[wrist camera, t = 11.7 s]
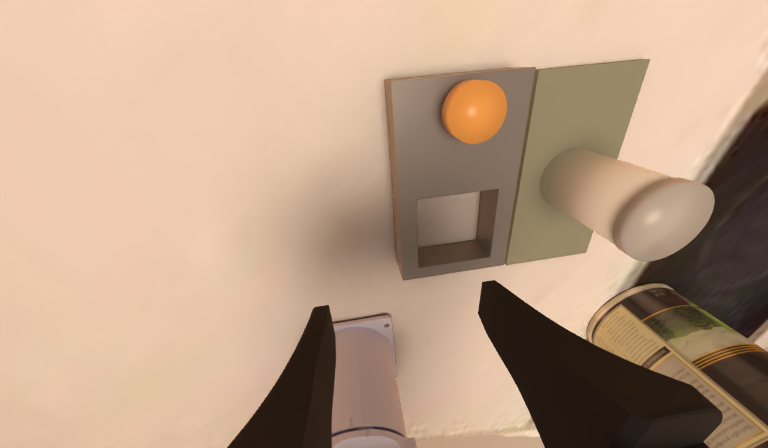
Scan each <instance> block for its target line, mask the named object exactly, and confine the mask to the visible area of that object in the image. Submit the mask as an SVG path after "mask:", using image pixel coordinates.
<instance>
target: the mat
mask: <svg viewBox="0 0 768 448" xmlns="http://www.w3.org/2000/svg"><path fill="white" fill-rule="evenodd" d="M649 61H650V59H643V60H632V61H621V62H611V63H601V64H590V65H580V66H570V67H559V68H549V69H539V70H535V74H534V80H533V86H532V93H531V99H530V105H529V111H528V117H527V124H526V130H525V136H524V142H523V148H522V155H521V161H520V167H519V173H518V179H517V186H516V192H515V198H514V204H513V210H512V217H511V223H510V229H509V235H508V241H507V248H506V254H505V260H504V263H505V264H506V265H511V264H517V263H524V262H530V261H536V260H543V259H549V258H556V257H562V256H568V255H575V254H581V253H586V251H587V248H588V245H589V242H590V239H591V236H592V233H593V230H591V229H590V228H588V227H587V226H585V225H583V224H582V223H580V222H579V221H577V220H575V219H574V218H572V217H571V216H569V215H568V214H566V213H564V212H563V211H561V210H560V209H558V208H556V207H555V206H553V205H552V204H550V203H549V202H547V201H546V200H545V199H544V198H543V197H542V195H541V193H540V179H541V176H542V174H543V172H544V170H545V168H546V167H547V165H548V164H549V163H550V162H551V161H552V160H553V159H554V158H555V157H556V156H558V155H559V154H561V153H563V152H565V151H567V150H570V149H575V148H582V149H586V150H589V151H592V152H595V153H598V154H601V155H604V156H608V157H611V158H614V159H617V158H618V155H619V152H620V149H621V146H622V143H623V140H624V137H625V134H626V131H627V128H628V125H629V122H630V119H631V116H632V113H633V110H634V107H635V104H636V101H637V98H638V95H639V92H640V89H641V85H642V82H643V79H644V76H645V73H646V70H647V67H648V64H649Z"/></svg>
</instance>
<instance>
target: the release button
mask: <svg viewBox="0 0 768 448" xmlns="http://www.w3.org/2000/svg"><path fill="white" fill-rule="evenodd" d="M506 112H507V100H506V96H505V94H504V92H503V90H502V89H501V88H500V87H499V86H498V85H497V84H496V83H494V82H491V81H488V80H466V81H463V82H461V83H459V84H458V85H456V86H455V87H454V88H453V89H452V90H451V91H450V92H449V94H448V95H447V97H446V99H445V101H444V104H443V108H442V121H443V124H444V127H445V129H446V130H447V131H448V133H449V134H451V135H452V136H454V137H455V138H457V139H459V140H460V141H462V142H465V143H468V144H478V143H482V142H484V141H487V140H488V139H490V138H491V137H492V136H494V135H495V134H496V133H497V132H498V130H499V129H500V127H501V126H502V124H503V122H504V120H505V117H506Z"/></svg>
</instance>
